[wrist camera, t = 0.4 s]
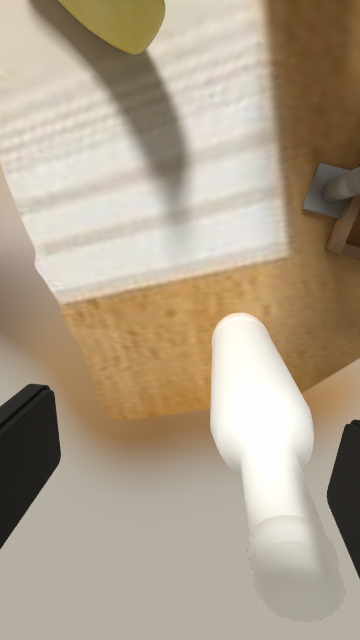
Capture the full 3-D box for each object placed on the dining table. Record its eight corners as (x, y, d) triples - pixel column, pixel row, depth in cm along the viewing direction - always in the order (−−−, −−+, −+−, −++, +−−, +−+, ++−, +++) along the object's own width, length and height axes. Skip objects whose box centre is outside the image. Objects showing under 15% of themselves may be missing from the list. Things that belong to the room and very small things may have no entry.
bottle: (254, 302, 38) (374, 503, 9) (276, 350, 39) (434, 644, 11) (202, 325, 40) (170, 550, 11) (225, 370, 41) (248, 665, 13)
